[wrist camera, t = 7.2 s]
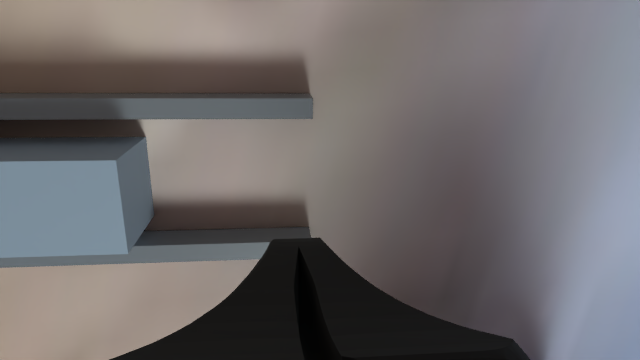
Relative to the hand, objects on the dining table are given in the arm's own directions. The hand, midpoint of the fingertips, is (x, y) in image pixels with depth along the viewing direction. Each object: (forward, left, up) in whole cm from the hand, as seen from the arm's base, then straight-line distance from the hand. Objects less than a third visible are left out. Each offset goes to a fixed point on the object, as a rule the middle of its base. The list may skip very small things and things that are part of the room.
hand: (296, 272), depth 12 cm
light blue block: (+12, 0, -9) cm, 15 cm away
